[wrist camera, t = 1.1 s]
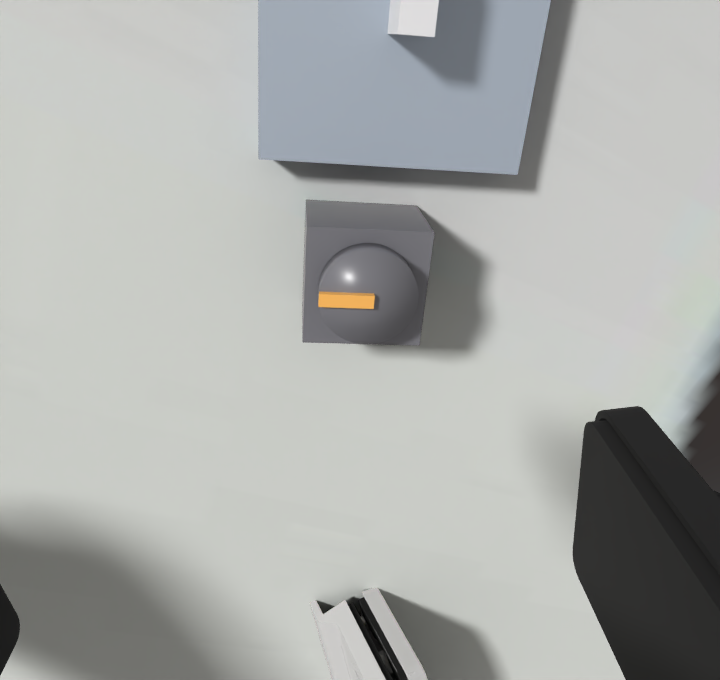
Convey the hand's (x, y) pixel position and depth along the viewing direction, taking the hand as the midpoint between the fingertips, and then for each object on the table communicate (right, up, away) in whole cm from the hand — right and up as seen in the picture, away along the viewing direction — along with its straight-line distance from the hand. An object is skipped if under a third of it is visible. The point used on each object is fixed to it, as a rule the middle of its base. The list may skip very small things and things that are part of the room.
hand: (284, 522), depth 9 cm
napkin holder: (+2, -22, +38) cm, 44 cm away
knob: (+1, +7, +22) cm, 23 cm away
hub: (+3, +18, +17) cm, 25 cm away
